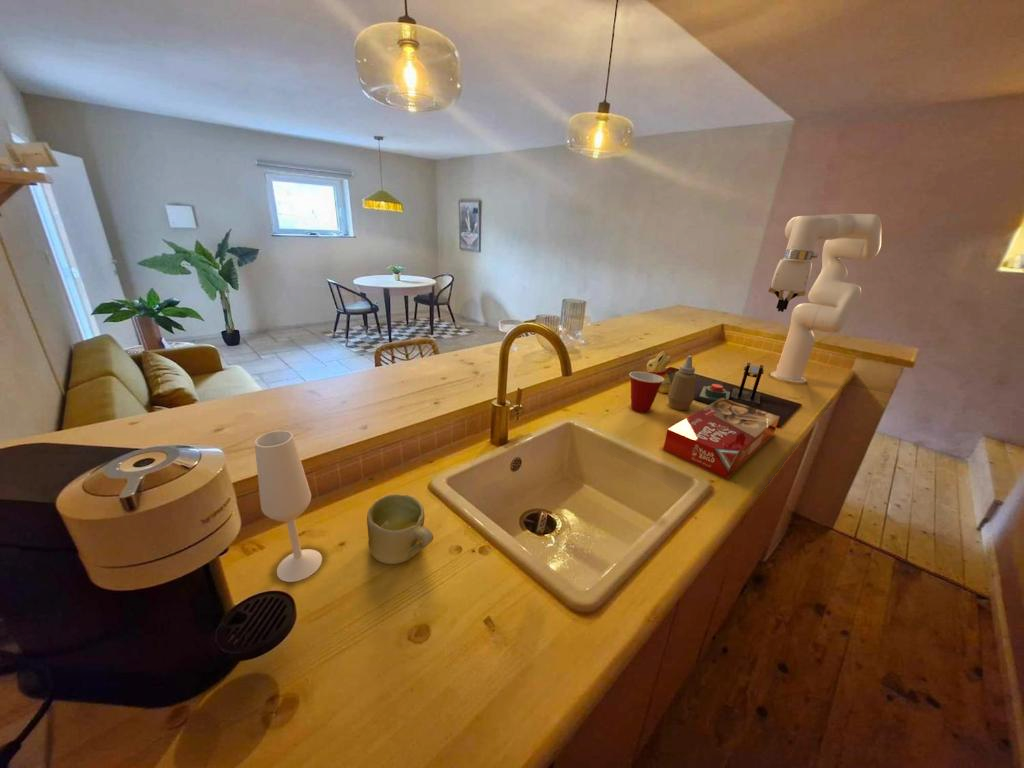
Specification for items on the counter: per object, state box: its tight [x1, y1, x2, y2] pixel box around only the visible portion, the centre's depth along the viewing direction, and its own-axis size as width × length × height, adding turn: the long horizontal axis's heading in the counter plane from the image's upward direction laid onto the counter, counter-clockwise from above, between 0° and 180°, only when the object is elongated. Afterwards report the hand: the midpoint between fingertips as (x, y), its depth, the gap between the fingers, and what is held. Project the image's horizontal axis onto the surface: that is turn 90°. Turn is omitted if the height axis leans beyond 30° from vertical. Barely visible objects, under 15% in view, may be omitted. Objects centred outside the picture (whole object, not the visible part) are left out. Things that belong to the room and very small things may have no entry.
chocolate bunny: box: [645, 350, 672, 394], centre depth 143 cm, size 7×11×15 cm, turn 38°
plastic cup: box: [628, 371, 664, 414], centre depth 126 cm, size 11×11×12 cm
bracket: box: [730, 362, 765, 405], centre depth 139 cm, size 11×9×13 cm
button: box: [710, 383, 724, 392], centre depth 137 cm, size 4×4×2 cm
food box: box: [662, 398, 780, 480], centre depth 109 cm, size 35×16×6 cm, turn 132°
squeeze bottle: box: [667, 355, 697, 411], centre depth 128 cm, size 8×8×18 cm
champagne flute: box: [254, 429, 323, 583], centre depth 60 cm, size 7×7×24 cm
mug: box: [366, 493, 434, 565], centre depth 67 cm, size 12×10×10 cm
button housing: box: [698, 385, 731, 404], centre depth 138 cm, size 12×9×4 cm
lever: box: [743, 365, 760, 379], centre depth 142 cm, size 12×5×2 cm, turn 149°
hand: (780, 311), depth 136 cm, fingers closed
